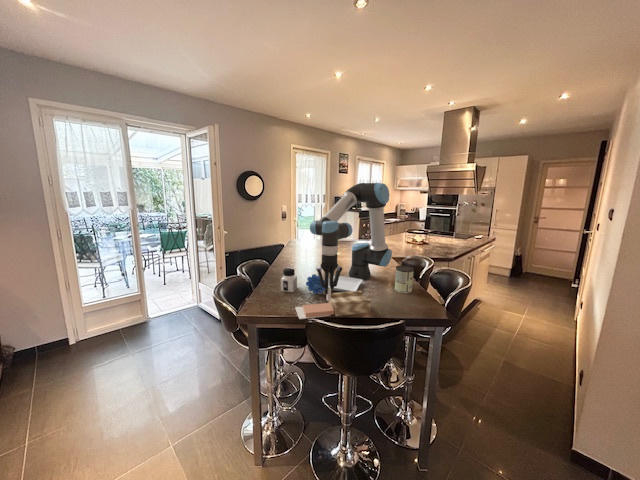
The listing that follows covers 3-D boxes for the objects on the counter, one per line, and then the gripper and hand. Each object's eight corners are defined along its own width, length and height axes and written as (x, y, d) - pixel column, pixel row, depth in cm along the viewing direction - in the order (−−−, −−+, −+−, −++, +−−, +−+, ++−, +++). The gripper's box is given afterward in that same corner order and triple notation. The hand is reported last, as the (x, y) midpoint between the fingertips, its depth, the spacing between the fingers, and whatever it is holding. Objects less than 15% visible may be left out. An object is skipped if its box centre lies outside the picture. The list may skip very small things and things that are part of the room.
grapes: (306, 297, 146) (306, 277, 143) (305, 292, 152) (305, 273, 150) (327, 296, 148) (327, 276, 145) (325, 291, 154) (325, 272, 152)
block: (329, 306, 134) (329, 302, 134) (334, 314, 126) (334, 310, 126) (302, 308, 131) (302, 305, 131) (305, 317, 123) (305, 313, 123)
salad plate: (355, 296, 149) (356, 290, 148) (320, 291, 156) (320, 285, 156) (363, 284, 168) (363, 278, 168) (331, 279, 176) (331, 274, 175)
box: (360, 302, 141) (361, 290, 140) (370, 312, 130) (371, 299, 128) (328, 305, 136) (328, 293, 135) (335, 316, 125) (336, 303, 124)
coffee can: (395, 285, 165) (397, 264, 162) (412, 288, 161) (414, 266, 158) (392, 291, 156) (394, 268, 153) (411, 294, 152) (413, 271, 149)
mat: (323, 305, 137) (323, 304, 137) (330, 315, 125) (330, 315, 125) (295, 308, 133) (295, 307, 133) (299, 319, 122) (299, 318, 122)
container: (293, 292, 152) (293, 271, 150) (280, 291, 154) (280, 270, 151) (297, 287, 160) (297, 267, 157) (285, 286, 161) (284, 266, 159)
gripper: (340, 251, 130) (338, 295, 134) (314, 252, 126) (313, 298, 131) (345, 254, 122) (343, 301, 127) (318, 256, 119) (317, 304, 124)
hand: (328, 299), depth 129 cm, fingers closed
